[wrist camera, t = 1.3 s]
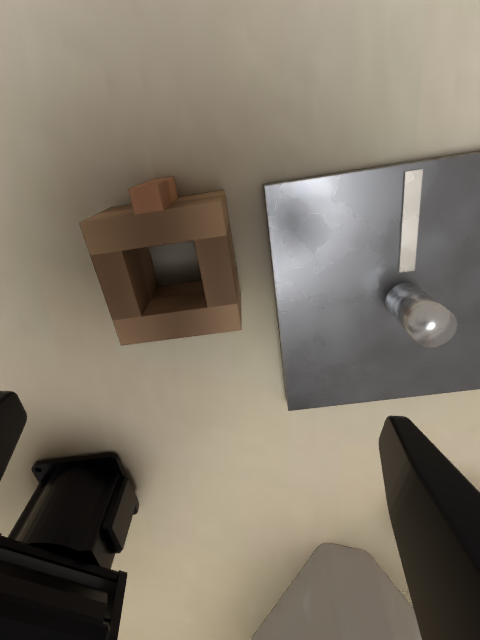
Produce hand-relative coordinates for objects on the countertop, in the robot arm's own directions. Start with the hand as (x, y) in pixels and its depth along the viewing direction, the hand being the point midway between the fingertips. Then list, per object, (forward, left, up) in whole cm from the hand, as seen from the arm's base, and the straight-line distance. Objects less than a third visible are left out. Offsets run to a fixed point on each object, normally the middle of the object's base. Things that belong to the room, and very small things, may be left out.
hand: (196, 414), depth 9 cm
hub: (+10, -3, -12) cm, 16 cm away
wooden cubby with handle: (-2, +1, -12) cm, 13 cm away
